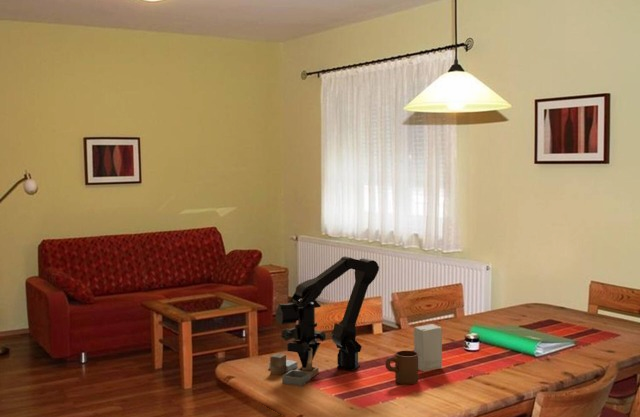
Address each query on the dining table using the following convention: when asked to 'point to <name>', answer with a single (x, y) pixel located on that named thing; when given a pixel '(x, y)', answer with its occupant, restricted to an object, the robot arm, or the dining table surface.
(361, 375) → the dining table surface
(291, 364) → the pale grey box
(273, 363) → the block
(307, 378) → the tray
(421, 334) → the skincare box
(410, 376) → the mug
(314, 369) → the socket block
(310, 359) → the dowel
